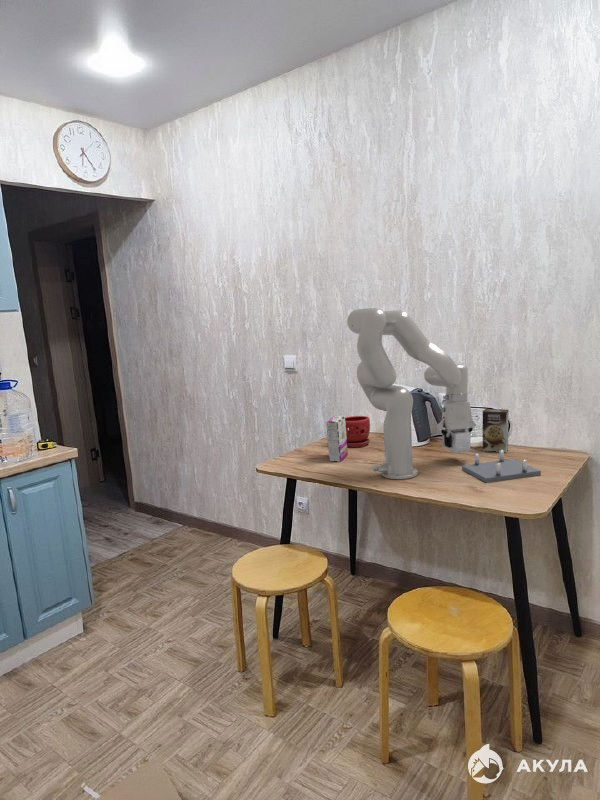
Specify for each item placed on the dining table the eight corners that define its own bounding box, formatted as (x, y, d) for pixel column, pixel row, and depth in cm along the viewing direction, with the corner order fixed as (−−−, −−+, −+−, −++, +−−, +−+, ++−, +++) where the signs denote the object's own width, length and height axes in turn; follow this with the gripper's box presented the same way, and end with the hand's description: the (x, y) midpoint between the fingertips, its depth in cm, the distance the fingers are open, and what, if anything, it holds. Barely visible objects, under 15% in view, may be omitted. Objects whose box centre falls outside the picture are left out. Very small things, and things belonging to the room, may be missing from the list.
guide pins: (497, 476, 179) (497, 464, 179) (473, 464, 194) (473, 453, 193) (528, 472, 181) (528, 460, 181) (502, 460, 196) (502, 449, 195)
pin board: (486, 482, 178) (486, 478, 178) (462, 469, 194) (462, 465, 194) (540, 475, 182) (540, 470, 182) (512, 462, 198) (512, 458, 197)
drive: (455, 452, 197) (455, 433, 196) (442, 446, 207) (442, 428, 206) (470, 451, 199) (470, 432, 198) (456, 445, 208) (457, 427, 207)
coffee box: (482, 451, 215) (481, 411, 212) (485, 447, 221) (484, 408, 218) (506, 452, 211) (506, 411, 208) (509, 448, 216) (508, 408, 214)
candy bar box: (336, 454, 226) (334, 415, 223) (348, 454, 224) (345, 415, 222) (328, 462, 216) (325, 421, 213) (340, 462, 214) (338, 421, 211)
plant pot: (373, 441, 244) (371, 414, 242) (367, 448, 232) (366, 421, 230) (344, 441, 248) (343, 415, 246) (337, 448, 236) (336, 421, 234)
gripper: (439, 400, 195) (439, 450, 197) (483, 398, 198) (482, 446, 201) (430, 398, 202) (430, 445, 205) (473, 395, 206) (472, 442, 208)
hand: (456, 445), depth 203 cm, fingers closed on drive, 6 cm apart
